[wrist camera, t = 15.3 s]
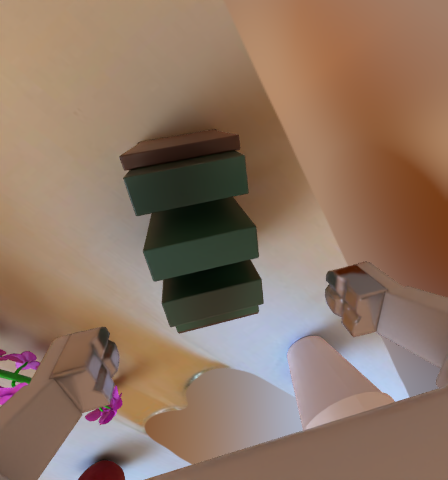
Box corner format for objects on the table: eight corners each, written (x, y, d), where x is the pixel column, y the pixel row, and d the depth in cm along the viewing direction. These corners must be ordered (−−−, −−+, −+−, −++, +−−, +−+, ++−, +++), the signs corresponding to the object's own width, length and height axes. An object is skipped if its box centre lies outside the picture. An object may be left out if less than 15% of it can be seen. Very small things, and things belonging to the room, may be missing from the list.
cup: (271, 383, 41) (312, 490, 29) (269, 333, 36) (318, 441, 24) (337, 365, 43) (402, 460, 31) (345, 314, 37) (427, 407, 25)
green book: (218, 178, 23) (256, 226, 13) (221, 198, 24) (259, 258, 14) (156, 190, 23) (142, 251, 12) (162, 210, 24) (153, 282, 13)
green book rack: (215, 128, 22) (260, 137, 11) (233, 253, 28) (274, 342, 17) (138, 142, 21) (99, 165, 10) (175, 267, 28) (176, 369, 16)
